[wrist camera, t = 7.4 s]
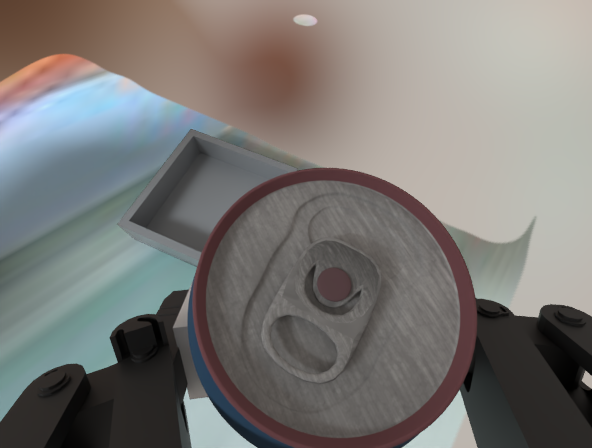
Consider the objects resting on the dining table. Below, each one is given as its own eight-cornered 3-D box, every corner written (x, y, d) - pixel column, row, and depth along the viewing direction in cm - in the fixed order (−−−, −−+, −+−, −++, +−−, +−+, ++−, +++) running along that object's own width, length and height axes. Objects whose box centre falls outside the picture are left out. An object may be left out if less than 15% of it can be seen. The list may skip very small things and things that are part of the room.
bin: (134, 239, 32) (117, 224, 29) (199, 150, 38) (191, 128, 35) (244, 288, 31) (239, 279, 27) (296, 187, 36) (297, 168, 33)
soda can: (282, 256, 19) (278, 108, 8) (382, 312, 17) (541, 227, 7) (216, 360, 16) (75, 350, 5) (329, 435, 15) (451, 631, 4)
